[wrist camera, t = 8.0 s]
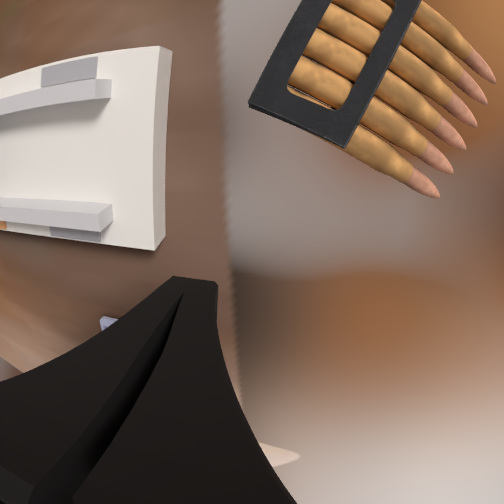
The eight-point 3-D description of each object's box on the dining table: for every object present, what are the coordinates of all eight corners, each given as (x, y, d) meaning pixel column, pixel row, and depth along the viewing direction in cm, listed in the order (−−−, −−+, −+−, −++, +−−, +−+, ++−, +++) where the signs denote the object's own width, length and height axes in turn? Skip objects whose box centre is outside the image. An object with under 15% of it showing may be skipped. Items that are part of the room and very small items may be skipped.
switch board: (165, 235, 18) (144, 264, 15) (-14, 216, 19) (-41, 233, 15) (172, 51, 13) (147, 40, 10) (-24, 92, 13) (-55, 99, 10)
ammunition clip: (247, 105, 14) (424, 204, 17) (245, 105, 13) (438, 216, 15) (330, -45, 10) (490, 72, 12) (338, -58, 8) (508, 72, 10)
